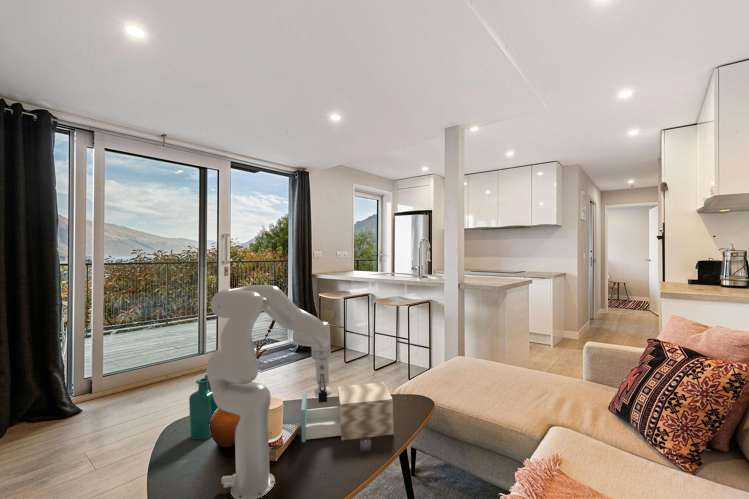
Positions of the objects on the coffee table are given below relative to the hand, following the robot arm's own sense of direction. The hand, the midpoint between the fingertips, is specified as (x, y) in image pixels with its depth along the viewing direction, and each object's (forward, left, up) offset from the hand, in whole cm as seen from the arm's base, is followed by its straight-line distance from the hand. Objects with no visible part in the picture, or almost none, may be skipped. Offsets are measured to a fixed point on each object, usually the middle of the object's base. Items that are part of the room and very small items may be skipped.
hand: (322, 397), depth 138 cm
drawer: (+2, 0, -12) cm, 12 cm away
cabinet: (+16, 0, -13) cm, 21 cm away
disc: (0, 0, +2) cm, 2 cm away
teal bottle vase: (-47, +8, -13) cm, 49 cm away
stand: (+14, -17, -13) cm, 26 cm away
